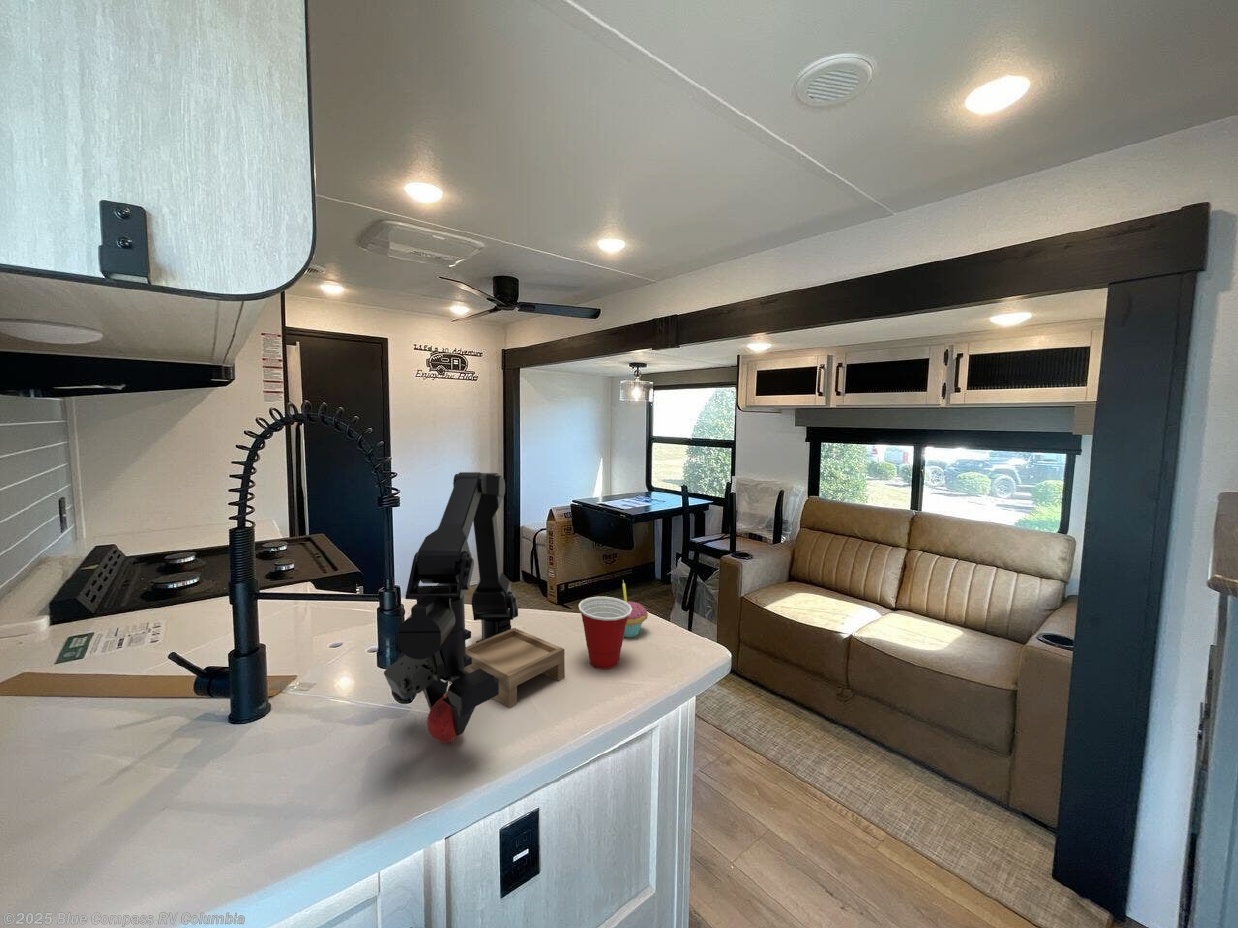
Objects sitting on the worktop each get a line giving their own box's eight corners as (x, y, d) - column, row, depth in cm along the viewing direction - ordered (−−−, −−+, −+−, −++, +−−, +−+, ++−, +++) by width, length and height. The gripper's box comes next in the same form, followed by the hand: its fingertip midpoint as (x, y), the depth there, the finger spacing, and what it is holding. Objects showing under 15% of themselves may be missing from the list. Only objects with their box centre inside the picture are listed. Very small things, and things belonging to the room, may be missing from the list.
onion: (445, 759, 71) (443, 707, 70) (419, 745, 74) (418, 695, 73) (476, 737, 76) (475, 688, 75) (451, 725, 79) (450, 677, 78)
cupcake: (603, 632, 114) (602, 581, 113) (629, 622, 120) (629, 574, 119) (628, 644, 108) (628, 591, 107) (655, 633, 113) (655, 582, 112)
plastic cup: (619, 680, 93) (619, 619, 92) (569, 669, 97) (568, 610, 96) (639, 655, 103) (640, 599, 102) (593, 646, 107) (592, 592, 106)
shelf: (459, 678, 93) (459, 649, 93) (514, 653, 103) (514, 627, 103) (509, 708, 84) (508, 675, 83) (564, 677, 94) (564, 648, 93)
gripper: (361, 627, 73) (366, 727, 74) (427, 667, 61) (431, 785, 63) (431, 605, 82) (434, 695, 83) (500, 637, 70) (502, 741, 71)
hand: (448, 726), depth 75 cm, fingers closed on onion, 6 cm apart
